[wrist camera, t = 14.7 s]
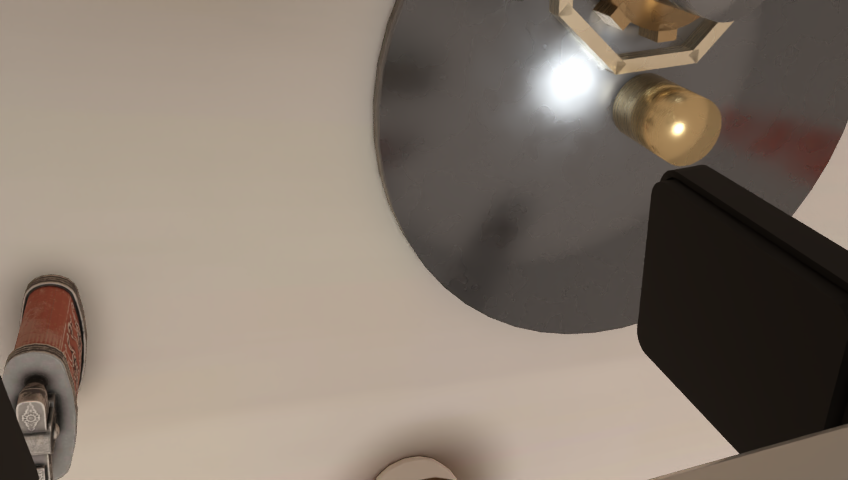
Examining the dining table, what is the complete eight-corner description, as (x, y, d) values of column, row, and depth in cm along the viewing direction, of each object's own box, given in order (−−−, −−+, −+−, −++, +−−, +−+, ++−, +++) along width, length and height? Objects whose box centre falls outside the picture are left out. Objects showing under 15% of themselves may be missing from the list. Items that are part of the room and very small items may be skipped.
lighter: (16, 275, 42) (-18, 387, 34) (84, 274, 43) (68, 382, 35) (26, 395, 45) (-3, 524, 37) (89, 391, 47) (75, 516, 38)
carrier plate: (346, -190, 37) (381, -194, 31) (908, -218, 45) (1014, -225, 39) (392, 366, 53) (420, 429, 47) (800, 273, 60) (865, 317, 55)
